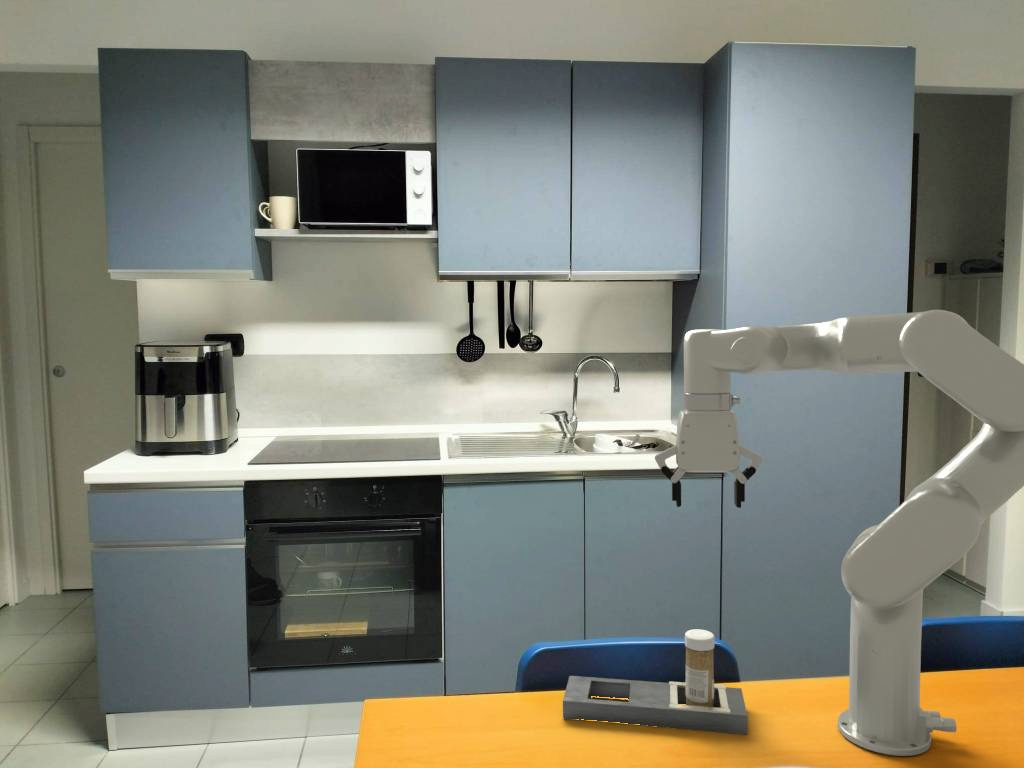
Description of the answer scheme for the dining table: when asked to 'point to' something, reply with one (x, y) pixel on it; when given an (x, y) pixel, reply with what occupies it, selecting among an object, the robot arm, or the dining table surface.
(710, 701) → the sprinkles bottle
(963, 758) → the dining table surface
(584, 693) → the rail
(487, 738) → the dining table surface
